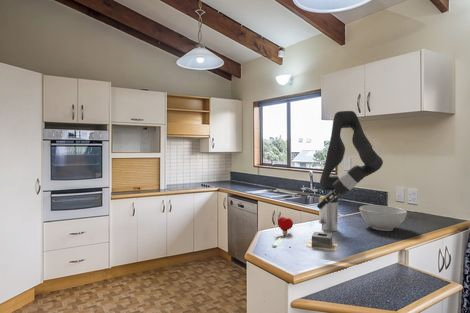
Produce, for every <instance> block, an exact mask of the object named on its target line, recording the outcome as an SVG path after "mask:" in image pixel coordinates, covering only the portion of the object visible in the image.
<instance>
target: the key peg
mask: <svg viewBox="0 0 470 313" xmlns="http://www.w3.org/2000/svg"><path fill="white" fill-rule="evenodd" d="M324 196H325V195H323V196H321V195H320V196H319V200H318V201H319V202H318V204H319V203H320V202H322V200H323V199H325V198H326V197H324ZM326 201H327V199H326ZM318 209H319V208H318ZM318 212H319V213H318V223H319V224H321V225H322V224H326V217H327V204H325V205H324V206H323V207H322V208H321V209H319V210H318Z"/></svg>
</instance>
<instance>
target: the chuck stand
mask: <svg viewBox="0 0 470 313" xmlns="http://www.w3.org/2000/svg"><path fill="white" fill-rule="evenodd" d="M333 236H334V234H333V233H330V232H321V231H314V232H313V233H312V235H311V239H309V240H308V242H307V243H306V245H305V248H308V249H314V250H315V249H316V250H323V251H332V252H336V250H337V247H338V242H334V241H333V238H334V237H333Z"/></svg>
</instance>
